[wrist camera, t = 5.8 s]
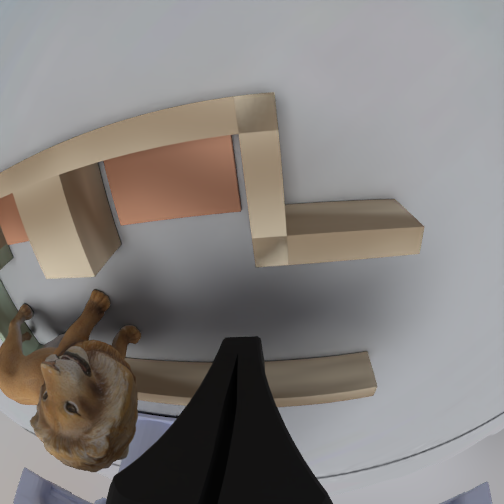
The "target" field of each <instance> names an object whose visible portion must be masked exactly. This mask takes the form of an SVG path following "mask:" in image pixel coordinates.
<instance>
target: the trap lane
mask: <svg viewBox="0 0 504 504" xmlns="http://www.w3.org/2000/svg"><path fill="white" fill-rule="evenodd" d="M234 134H239V141H240V149H241V157H242V164H243V172H244V180H245V188H246V195H247V203H248V211H249V219H250V227H251V235H252V243H253V250H254V258H255V266H256V267H269V266H282V265H296V264H308V263H321V262H333V261H345V260H357V259H368V258H380V257H391V256H401V255H412V254H419V253H420V248H421V243H422V237H423V232H424V226H423V225H422V224H421V223H420V222H419V221H418V220H417V219H416V218H415V217H414V216H413V215H412V214H410V213H409V212H408V211H407V210H406V209H405V208H404V207H403V206H402V205H401V204H400V203H398V202H397V201H396V200H395V199H383V200H356V201H335V202H318V203H302V204H288V205H285V203H284V190H283V177H282V165H281V154H280V143H279V133H278V123H277V113H276V104H275V95H274V92H272V93H260V94H251V95H242V96H234V97H227V98H220V99H213V100H207V101H202V102H196V103H191V104H186V105H181V106H177V107H172V108H168V109H163V110H159V111H155V112H151V113H147V114H144V115H140V116H136V117H133V118H129V119H126V120H123V121H120V122H116V123H113V124H110V125H107V126H104V127H101V128H98V129H95V130H93V131H90V132H87V133H84V134H82V135H79V136H77V137H74V138H72V139H69V140H67V141H64V142H62V143H60V144H57V145H55V146H53V147H50V148H48V149H46V150H44V151H42V152H39V153H37V154H35V155H33V156H31V157H29V158H27V159H25V160H23V161H21V162H19V163H17V164H16V165H14V166H12V167H10V168H8V169H6V170H5V171H3V172H1V173H0V270H1V269H2V268H3V267H4V266H5V265H6V264H7V263H8V262H9V261H10V260H11V259H12V258H13V256H12V254H11V251H10V249H9V247H8V245H11V244H15V243H20V242H26V241H30V243H31V246H32V248H33V251H34V253H35V255H36V258H37V260H38V262H39V264H40V266H41V269H42V271H43V273H44V275H45V277H46V279H54V278H79V277H95V276H96V275H97V273H98V272H99V271H100V270H101V268H102V267H103V266H104V265H105V263H106V262H107V261H108V260H109V259H110V257H111V256H112V255H113V254H114V252H115V251H116V250H117V249H118V248H119V246H120V245H121V242H120V239H119V236H118V233H117V230H116V227H115V223H114V220H113V217H112V214H111V211H110V207H109V204H108V200H107V197H106V193H105V189H104V186H103V182H102V178H101V174H100V170H99V166H98V162H101V161H104V166H105V170H106V174H107V178H108V182H109V186H110V189H111V193H112V197H113V200H114V204H115V207H116V211H117V214H118V217H119V221H120V224H121V225H128V224H135V223H143V222H150V221H158V220H166V219H174V218H183V217H191V216H200V215H210V214H219V213H229V212H240V211H241V201H240V194H239V186H238V179H237V172H236V164H235V157H234V150H233V142H232V135H234ZM2 231H3V232H2ZM4 236H5V237H4ZM6 241H7V242H6ZM17 313H18V311H17V309H16V308H15V306H14V304H13V303H12V301H11V299H10V297H9V295H8V294H7V292H6V290H5V288H4V286H3V284H2V282H1V280H0V339H1V340H2V341H3V342H4V341H5V339H6V337H7V336H8V333H9V325H10V322H11V320H13V319H14V317H15V316H16V314H17ZM20 329H21V334H24V333H26V331H27V332H29V333H30V334H31V335H32V337H31V339H30V340H25V341H24V342H22V351H23V355H25V356H27V355H29V354H31V353H32V352H34V351H36V350H38V349H41V348H43V347H44V345H41V344H39V343H38V342H37V340H36V339H35V337H34V336H33V334H32V333H31V331H30V330H29V328H28V327H27V325H26V324H25V322H23V323H22V324H21V326H20ZM124 360H125V361H126V362H127V363H128V364H129V365H130V368H131V371H132V373H133V374H134V375H135V377H136V387H137V393H138V397H137V398H138V400H142V401H149V402H157V403H165V404H175V405H186V406H187V404H188V403H189V402H190V400H191V399H192V397H193V396H194V394H195V392H196V391H197V389H198V388H199V386H200V385H201V383H202V381H203V379H204V378H205V376H206V374H207V372H208V371H209V369H210V367H211V365H212V363H207V362H175V361H158V360H144V359H133V358H125V359H124ZM264 364H265V374H266V377H267V381H268V384H269V387H270V390H271V393H272V396H273V398H274V401H275V403H276V406H277V407H287V406H301V405H312V404H322V403H330V402H338V401H345V400H351V399H358V398H363V397H369V396H373V395H374V393H375V391H376V388H377V383H376V380H375V376H374V373H373V369H372V366H371V362H370V359H369V356H368V352H360V353H353V354H346V355H338V356H330V357H320V358H310V359H299V360H285V361H267V362H264Z"/></svg>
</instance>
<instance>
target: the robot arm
mask: <svg viewBox="0 0 504 504" xmlns="http://www.w3.org/2000/svg"><path fill="white" fill-rule="evenodd" d="M13 503H14V504H92V503H90V502H88V501H86V500H83V499H81V498H79V497H77V496H75V495H73V494H72V493H71V492H69V491H67V490H65V489H63V488H61V487H59V486H57V485H56V484H54V483H52V482H50V481H48V480H45V479H44V478H42V477H40V476H39V475H37V474H35V473H34V472H32V471H30V470H29V469H27V468H24V469H23V472H22V475H21V478H20V482H19V485H18V488H17V492H16V495H15V498H14V502H13ZM94 504H333V503H332V501H331V499H330V497H329V495H328V493H327V492H326V490H325V489H324V488H323V486H322V485H321V484H320V482H319V481H318V480H317V478H316V477H315V475H314V474H313V473H312V471H311V469H310V468H309V466H308V465H307V463H306V462H305V460H304V459H303V457H302V455H301V454H300V452H299V450H298V448H297V447H296V445H295V443H294V441H293V440H292V438H291V436H290V434H289V432H288V430H287V428H286V426H285V424H284V422H283V420H282V418H281V415H280V413H279V411H278V408H277V406H276V403H275V401H274V398H273V396H272V393H271V390H270V387H269V384H268V381H267V377H266V374H265V364H264V357H263V351H262V345H261V338H259V337H258V336H255V337H230V338H225V339H223V342H222V344H221V346H220V349H219V351H218V353H217V355H216V357H215V359H214V361H213V363H212V365H211V367H210V369H209V371H208V372H207V374H206V376H205V378H204V379H203V381H202V383H201V385H200V386H199V388H198V389H197V391H196V392H195V394H194V396H193V397H192V399H191V400H190V402H189V403H188V404H187V406H186V407H185V409H184V410H183V411H182V413H181V414H180V415H179V416H178V418H170V417H162V416H155V415H149V414H142V413H138V420H137V423H136V432H135V435H134V438H133V440H132V441H131V443H130V444H129V452H128V455H127V457H126V458H125V459H122V461H121V465H120V468H119V472H118V474H116V475H115V476H114V477H113V480H112V483H111V485H110V488H109V492H108V496H107V499H106V498H101V499H99V500H96V501H95V503H94ZM440 504H492V499H491V494H490V489H489V484H488V482H485V483H483V484H481V485H479V486H477V487H475V488H473V489H471V490H469V491H467V492H464V493H462V494H459V495H457V496H455V497H453V498H451V499H449V500H447V501H445V502H442V503H440Z"/></svg>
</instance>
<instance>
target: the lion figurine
mask: <svg viewBox="0 0 504 504" xmlns="http://www.w3.org/2000/svg"><path fill="white" fill-rule="evenodd" d="M109 307H110V301H109V297H108V296H107V295H105V294H104V293H102V292H99V291H98V290H93V292H92V293H91V296H90V299H89V301H88V302H87V304H86V306H85V309H84V311H83V312H82V314H81V316H80V317H79V318H78V319H77V321H75V322H74V323H73V324H72V325H71V326H70V327H69V329H68V330H67V331H66V333H65V334H61V335H59V336H58V337H57V338H55V339H54V340H52V341H50V342H48V343H47V344H45V345H44V347H43V348H41V349H38V350H36V351H34V352H32V353H31V354H29V355H27V356H25V355H23V351H22V342H24V341H25V340H30V339H31V337H32V335H31V334H30V333H29V332H27V331H26V333H24V334H21V329H20V326H21V324H22V323H23V322H24V321H25V320H29V319H31V318H32V317H33V312H32V310H31V309H30V307H29V306H28V305H26V304H23V305H22V306H21V307H20V310H19V311H18V313H17V314H16V316H15V317H14V319H13V320H11V322H10V325H9V333H8V336H7V337H6V339H5V341H4V342H3V344H2V345H1V347H0V389H1V390H2V392H3V393H4V394H5V395H6V396H7V397H9V398H10V399H13V400H14V401H16V402H18V403H20V404H24V405H37V413H36V415H35V416H34V417H32V419H31V420H30V423H31V426H32V427H33V428H34V432H35V434H36V436H37V437H38V438H39V439H40V440H41V441H42V442H43V443H44V447H45V449H46V450H47V451H48V452H49V453H50V454H51V455H53V456H54V457H56V458H57V459H58V460H60V461H61V462H62V463H63V464H65V465H67V466H70V467H73V468H76V469H79V470H80V469H81V470H84V471H90V472H97V471H99V470H101V469H102V468H108V467H110V466H111V464H112V463H113V462H114V461H116V460H121V459H125V458H126V457H127V455H128V452H129V444H130V443H131V441H132V440H133V438H134V435H135V432H136V423H137V420H138V411H137V405H138V398H137V397H138V393H137V387H136V377H135V375H134V374H133V373H132V371H131V368H130V365H129V364H128V363H127V362H126V361H125V360H124V359H125V356H126V350H127V345H128V344H129V343H133V344H136V343H138V341H139V340H140V338H141V333H140V331H139V330H138V329H137V328H136V327H135V326H132V325H126V326H124V327H122V328H121V329H120V331H119V332H118V333H117V335H116V336H115V338H114V340H113V342H112V345H108V344H107V343H105V342H101V341H97V340H89V336H90V333H91V331H92V329H93V327H94V326H95V325H96V324H97V323H98V322H99V321H100V320H101V318H102V317H103V316H104V312H105V311H106V310H107V309H108V308H109ZM88 340H89V341H88Z"/></svg>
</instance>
